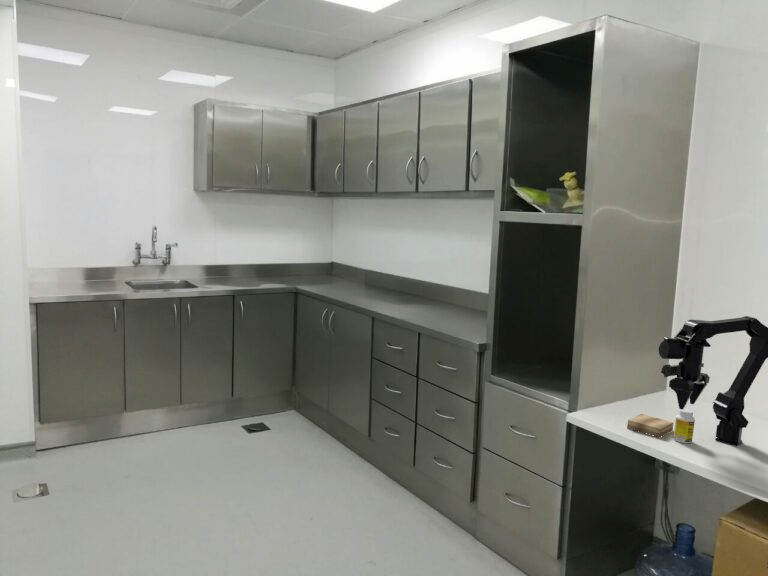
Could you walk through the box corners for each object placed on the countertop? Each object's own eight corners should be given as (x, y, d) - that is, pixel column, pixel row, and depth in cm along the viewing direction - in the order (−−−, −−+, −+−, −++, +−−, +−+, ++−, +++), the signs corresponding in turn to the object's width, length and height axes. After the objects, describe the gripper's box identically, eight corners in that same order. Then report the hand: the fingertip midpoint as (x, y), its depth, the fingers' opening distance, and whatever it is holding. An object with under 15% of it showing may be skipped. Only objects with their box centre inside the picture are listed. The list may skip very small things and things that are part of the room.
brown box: (672, 430, 215) (673, 422, 215) (659, 437, 207) (660, 429, 207) (640, 422, 223) (641, 413, 222) (627, 428, 215) (628, 419, 214)
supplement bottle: (688, 445, 202) (691, 414, 200) (670, 440, 206) (674, 409, 204) (694, 441, 205) (698, 411, 204) (677, 436, 209) (680, 406, 208)
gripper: (677, 351, 215) (672, 395, 216) (655, 358, 201) (649, 405, 203) (712, 357, 207) (706, 403, 209) (691, 365, 194) (685, 414, 196)
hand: (686, 406), depth 204 cm, fingers open, 9 cm apart
